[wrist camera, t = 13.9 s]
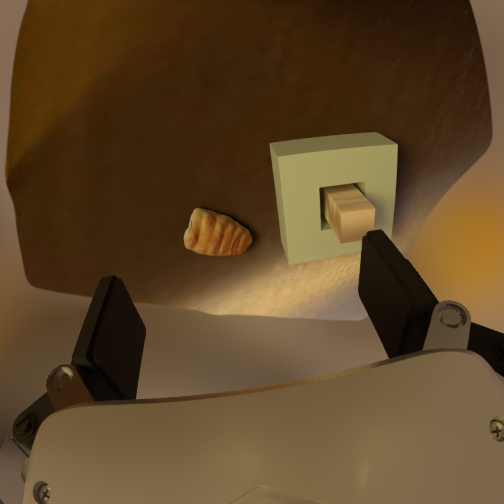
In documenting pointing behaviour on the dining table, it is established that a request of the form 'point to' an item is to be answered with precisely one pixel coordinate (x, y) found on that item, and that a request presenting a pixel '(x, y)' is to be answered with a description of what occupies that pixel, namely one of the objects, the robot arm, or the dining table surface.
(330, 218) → the birch block
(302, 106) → the dining table surface
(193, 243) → the pastry
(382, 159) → the well block
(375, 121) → the dining table surface
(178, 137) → the dining table surface
